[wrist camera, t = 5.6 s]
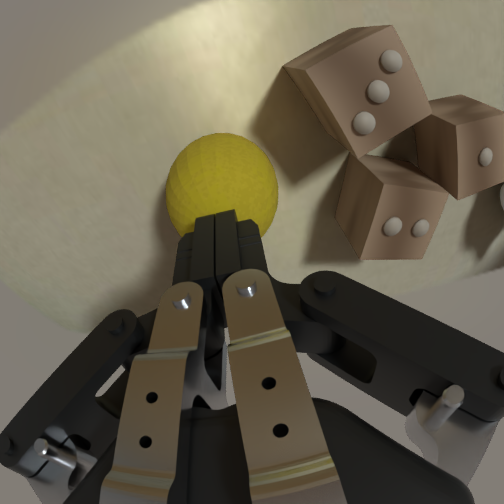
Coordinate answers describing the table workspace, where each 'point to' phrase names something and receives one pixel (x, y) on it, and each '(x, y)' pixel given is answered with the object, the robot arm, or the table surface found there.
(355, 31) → the block three dots
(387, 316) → the robot arm
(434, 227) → the block two dots
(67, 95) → the table surface
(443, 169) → the block one dot
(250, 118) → the table surface
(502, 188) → the cat figurine
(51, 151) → the table surface
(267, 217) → the lemon
